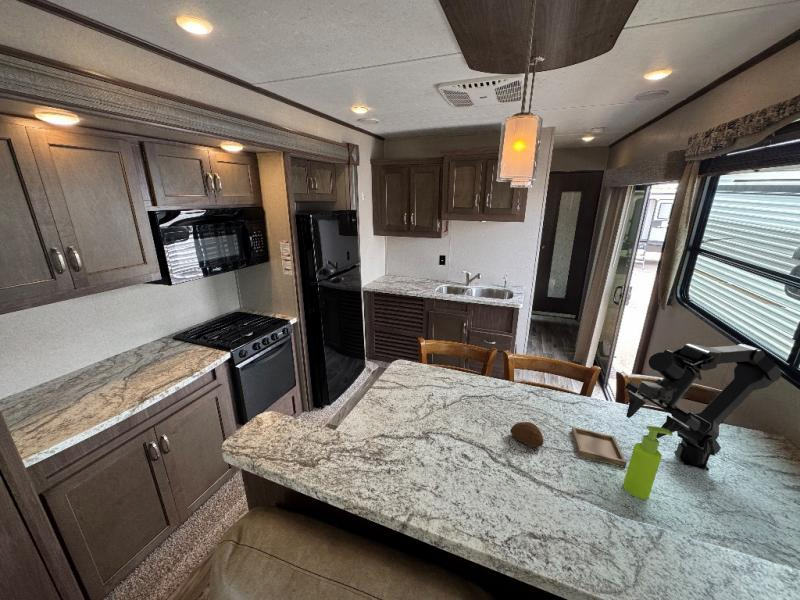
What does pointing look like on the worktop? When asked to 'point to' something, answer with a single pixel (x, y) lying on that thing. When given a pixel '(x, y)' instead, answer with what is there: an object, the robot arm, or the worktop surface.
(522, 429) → the potato
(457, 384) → the worktop surface
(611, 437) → the tray
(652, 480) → the soap dispenser
